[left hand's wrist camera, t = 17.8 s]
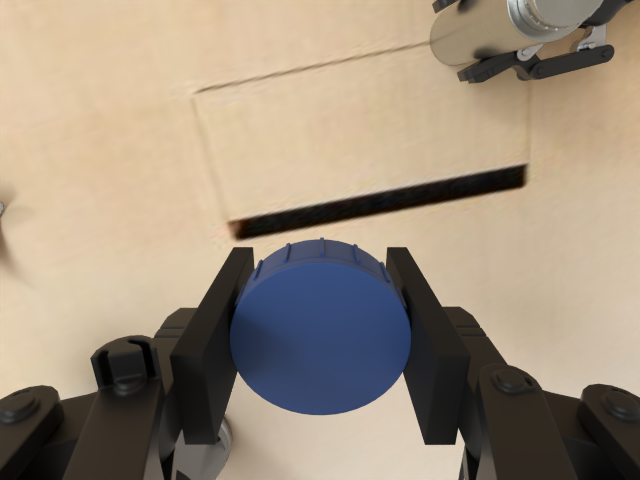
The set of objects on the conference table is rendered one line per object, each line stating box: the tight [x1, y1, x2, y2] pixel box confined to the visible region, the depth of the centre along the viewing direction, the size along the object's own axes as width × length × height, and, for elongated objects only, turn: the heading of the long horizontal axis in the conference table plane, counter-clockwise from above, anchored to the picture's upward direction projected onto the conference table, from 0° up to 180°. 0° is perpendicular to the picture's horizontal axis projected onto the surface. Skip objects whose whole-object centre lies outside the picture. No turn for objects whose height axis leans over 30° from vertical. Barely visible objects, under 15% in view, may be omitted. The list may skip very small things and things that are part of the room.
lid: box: [229, 238, 411, 415], centre depth 11 cm, size 5×5×2 cm
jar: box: [430, 0, 603, 65], centre depth 26 cm, size 5×5×17 cm
